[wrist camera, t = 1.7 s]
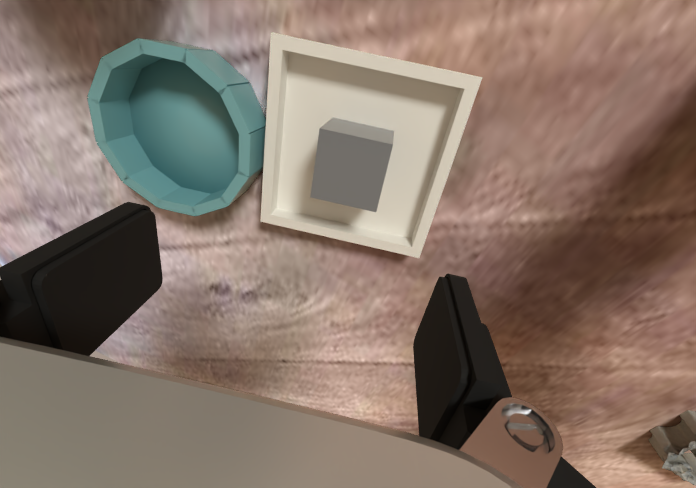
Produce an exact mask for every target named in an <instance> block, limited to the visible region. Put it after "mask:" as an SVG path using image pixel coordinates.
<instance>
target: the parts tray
mask: <svg viewBox="0 0 696 488" xmlns="http://www.w3.org/2000/svg"><path fill="white" fill-rule="evenodd" d="M481 80H482V77H478V76H474V75H469V74H464V73H459V72H455V71H450V70H445V69H441V68H436V67H431V66H427V65H422V64H417V63H413V62H408V61H403V60H399V59H394V58H389V57H385V56H380V55H375V54H371V53H366V52H361V51H357V50H352V49H347V48H342V47H338V46H333V45H328V44H324V43H319V42H314V41H310V40H305V39H300V38H296V37H291V36H286V35H282V34H277V33H272V32H271V40H270V58H269V76H268V94H267V112H266V130H265V148H264V166H263V184H262V202H261V220H260V222H265V223H269V224H273V225H278V226H282V227H286V228H291V229H295V230H299V231H304V232H308V233H312V234H317V235H321V236H325V237H330V238H334V239H338V240H343V241H347V242H351V243H356V244H360V245H364V246H369V247H373V248H377V249H382V250H386V251H390V252H395V253H399V254H403V255H408V256H412V257H416V258H419V257H420V254H421V252H422V249H423V246H424V243H425V240H426V237H427V234H428V231H429V229H430V226H431V223H432V220H433V217H434V214H435V211H436V209H437V206H438V203H439V200H440V197H441V194H442V191H443V189H444V186H445V183H446V180H447V177H448V174H449V171H450V169H451V166H452V163H453V160H454V157H455V154H456V151H457V149H458V146H459V143H460V140H461V137H462V134H463V131H464V128H465V126H466V123H467V120H468V117H469V114H470V111H471V108H472V106H473V103H474V100H475V97H476V94H477V91H478V88H479V86H480V83H481ZM333 117H334V118H338V119H343V120H347V121H352V122H356V123H361V124H365V125H370V126H374V127H379V128H384V129H388V130H393V131H394V140H393V147H392V151H391V155H390V159H389V163H388V167H387V171H386V175H385V179H384V183H383V187H382V191H381V195H380V199H379V203H378V207H377V211H376V212H372V211H368V210H363V209H359V208H355V207H350V206H346V205H342V204H337V203H333V202H328V201H324V200H320V199H315V198H311V197H310V195H311V188H312V180H313V173H314V166H315V158H316V151H317V143H318V136H319V129H320V127H322V126H323V125H324V124H325V123H327V122H328V121H329V120H330V119H331V118H333Z"/></svg>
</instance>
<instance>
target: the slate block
mask: <svg viewBox="0 0 696 488" xmlns="http://www.w3.org/2000/svg"><path fill="white" fill-rule="evenodd" d="M393 140H394V131H393V130H388V129H384V128H379V127H374V126H370V125H365V124H361V123H356V122H352V121H347V120H343V119H338V118H334V117H333V118H331V119H330V120H329V121H328V122H327V123H325V124H324V125H323V126H322V127H320V129H319V136H318V143H317V151H316V158H315V166H314V173H313V180H312V188H311V195H310V197H311V198H315V199H320V200H324V201H328V202H333V203H337V204H342V205H346V206H350V207H355V208H359V209H363V210H368V211H372V212H376V211H377V207H378V203H379V199H380V195H381V191H382V187H383V183H384V179H385V175H386V171H387V167H388V163H389V159H390V155H391V151H392V147H393Z"/></svg>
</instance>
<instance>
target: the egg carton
mask: <svg viewBox="0 0 696 488" xmlns="http://www.w3.org/2000/svg"><path fill="white" fill-rule="evenodd" d="M680 417H681V418H682V421H681V422H680V423H679V424H678V425H676V426H672V427H661V426H657V427H655V428H653V429H651V430H650V432H651V433H652V437H651V438H650V439H648V440H649V441H650V443H651V445H652V446H653V448H654V449H655V450H656V452H657V454H658V455H659V457H660V458H661V459H662V460H663V461H664V464H663V466H662V468H665V469H667V470H670V471H673V473H674V474H676V475H679V476H680V477H681V478H682V479H683V480H684V481H688V482H690V483H691V484H693V485H696V412H695V411H689V410H687V411H685V412H683V413H682V414H680ZM688 450H691V452H692V453H693V454H692V453H685V454H684V452H686V451H688Z"/></svg>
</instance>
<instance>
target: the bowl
mask: <svg viewBox="0 0 696 488" xmlns="http://www.w3.org/2000/svg"><path fill="white" fill-rule="evenodd" d="M87 97H89V98H87V99H88V104H89V109H90V114H91V119H92V124H93V129H94V134H95V139H96V142H98V143H97V145H98V146H99V148H100V149H101V151H102V152H103V154H104V155H105V157H106V158H107V160H108V161H109V163H110V164H111V166H112V167H113V169H114V170H115V172H116V173H117V175H118V176H119V178H120V179H121V181H123V183H125V184H126V185H127V186H129V187H130V188H131V189H133V190H134V191H136V192H137V193H138V194H140V195H141V196H142V197H144V198H145V199H146V200H148V201H149V202H151V203H152V204H153V205H155V206H156V207H158V208H161V209H165V210H170V211H174V212H178V213H183V214H187V215H191V216H199V215H202V214H205V213H208V212H211V211H215V210H218V209H221V208H224V207H227V206H229V205H230V204H231V203H233V202H234V201H235V200H236V199H237V198H238V197H240V196H241V195H242V194H243V193H244V192H246V191H247V190H248V188H249V187H250V186H251V184H252V183H253V181H254V180H255V179H256V177H257V176H258V175H259V173H260V172H261V171H262V169H263V166H264V148H265V130H266V118H265V116H264V114H263V111H262V109H261V107H260V104H259V102H258V100H257V97H256V95H255V93H254V90H253V88H252V86H251V83H249V81H248V80H247V79H246V78H245V77H243V76H242V75H241V74H240V73H239V72H238V71H237V70H236V69H234V68H233V67H232V66H231V65H230V64H229V63H228V62H227V61H225V60H224V59H223V58H222V57H221V56H220V55H219V54H218V53H216V52H215V51H213V50H210V49H205V48H201V47H196V46H191V45H187V44H182V43H178V42H173V41H163V40H152V39H141V38H139V39H138V38H137V39H135V40H133V41H131V42H130V43H128V44H126V45H124V46H122V47H120V48H118V49H116V50H114V51H112V52H111V53H109V54H107V55H105V56H103V57H102V58H101V59H100V62H99V65H98V68H97V71H96V73H95V76H94V79H93V82H92V85H91V88H90V90H89V93H88V96H87Z"/></svg>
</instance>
